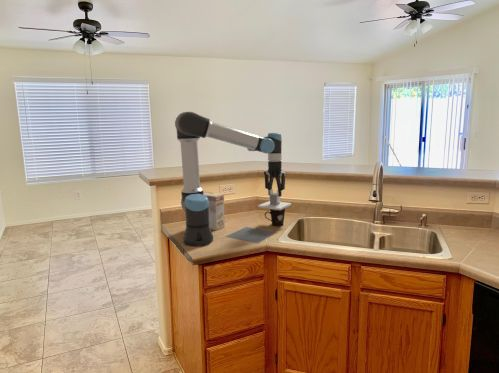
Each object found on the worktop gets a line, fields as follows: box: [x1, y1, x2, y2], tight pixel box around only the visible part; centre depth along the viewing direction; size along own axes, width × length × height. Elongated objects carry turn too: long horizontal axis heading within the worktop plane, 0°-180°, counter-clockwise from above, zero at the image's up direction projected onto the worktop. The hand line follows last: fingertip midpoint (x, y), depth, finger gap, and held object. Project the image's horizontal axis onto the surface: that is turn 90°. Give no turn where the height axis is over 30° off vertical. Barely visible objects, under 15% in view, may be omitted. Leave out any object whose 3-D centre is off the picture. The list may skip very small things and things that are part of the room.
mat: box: [225, 226, 278, 244], centre depth 194 cm, size 20×20×1 cm
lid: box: [257, 192, 292, 210], centre depth 209 cm, size 14×14×7 cm
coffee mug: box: [264, 208, 286, 227], centre depth 210 cm, size 12×9×10 cm
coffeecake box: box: [203, 191, 226, 231], centre depth 208 cm, size 15×7×20 cm, turn 50°
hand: (274, 201), depth 209 cm, fingers closed on lid, 4 cm apart
